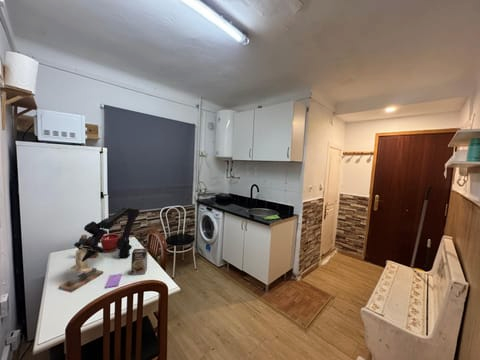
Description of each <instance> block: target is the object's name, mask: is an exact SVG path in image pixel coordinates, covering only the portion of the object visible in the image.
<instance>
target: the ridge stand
mask: <svg viewBox="0 0 480 360" xmlns="http://www.w3.org/2000/svg"><path fill="white" fill-rule="evenodd" d="M91 268H92V271H90V272H88V273H82V272H81V273H80V274H78V275H76V276H74V277H73V278H70V279H68V280H67V281H65V282H64V283H61V284H60V285H58V290H63V291H67V292H69V293H73V292H75V291H76V290H78V289H80V288H81V287H83V286H85V285H87V284H88V283H89V282H91V281H93V280H95V279H97V278H98V277H100V276H102V275H103V274H104V271H103V270H99V269H97V268H95V267H91Z"/></svg>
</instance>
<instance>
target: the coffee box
mask: <svg viewBox="0 0 480 360" xmlns="http://www.w3.org/2000/svg"><path fill="white" fill-rule="evenodd" d="M148 251H149V248H134V249H133V250H132V252H131V266H130V268H131V269H130V270H131V271H130V275H131V276H139V275H146V274H147V270H148V253H149V252H148Z"/></svg>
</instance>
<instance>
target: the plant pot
mask: <svg viewBox="0 0 480 360" xmlns="http://www.w3.org/2000/svg"><path fill="white" fill-rule="evenodd" d="M120 238H121V236H120V234H116V233H110V234H109V233H108V234H104V236H103V237H102V238H101V240H100V241H101V242H100V245H101V248H103V249H104V251H103V253H113V252H115V251H116V250H118V248H117V246H116V243H117V240H118V239H120Z"/></svg>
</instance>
